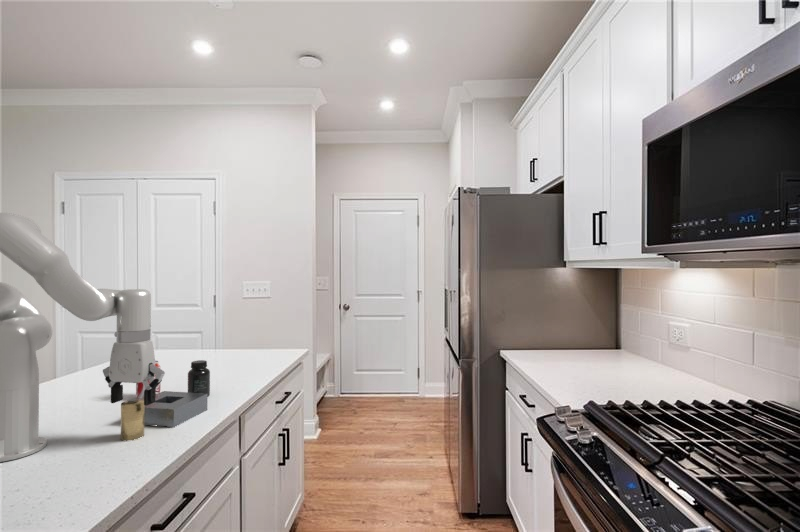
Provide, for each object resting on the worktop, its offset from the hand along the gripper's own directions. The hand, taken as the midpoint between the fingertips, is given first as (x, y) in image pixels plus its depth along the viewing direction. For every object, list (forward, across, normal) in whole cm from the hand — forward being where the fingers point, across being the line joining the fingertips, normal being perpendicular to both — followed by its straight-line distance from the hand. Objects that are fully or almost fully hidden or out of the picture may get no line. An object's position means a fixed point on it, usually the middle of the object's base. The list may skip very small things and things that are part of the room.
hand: (133, 402), depth 110 cm
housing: (+9, -2, +15) cm, 17 cm away
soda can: (+9, -21, +30) cm, 38 cm away
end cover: (+9, 0, 0) cm, 9 cm away
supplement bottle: (+9, -5, +34) cm, 36 cm away
